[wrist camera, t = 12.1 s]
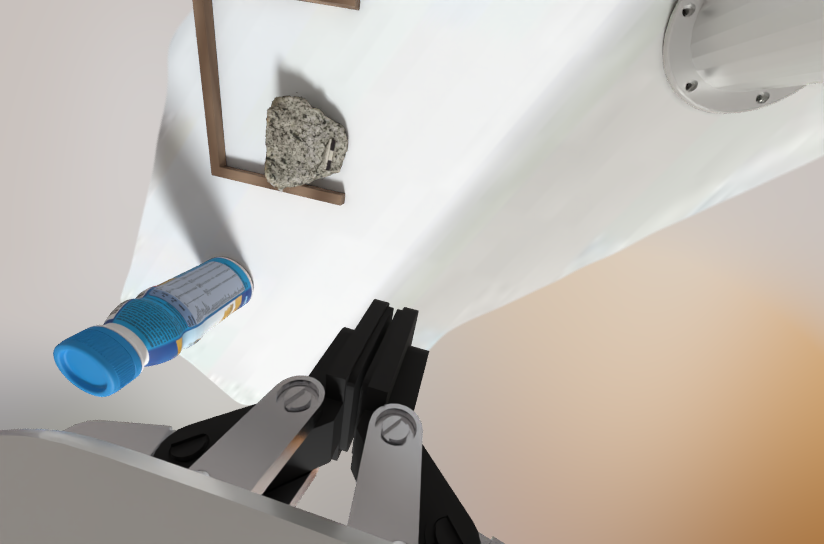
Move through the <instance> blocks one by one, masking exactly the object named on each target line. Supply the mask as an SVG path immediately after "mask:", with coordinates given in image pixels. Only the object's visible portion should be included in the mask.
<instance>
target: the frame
mask: <svg viewBox="0 0 824 544" xmlns="http://www.w3.org/2000/svg"><path fill="white" fill-rule="evenodd" d="M299 1H305V2H312V3H318V4H324V5H330V6H336V7H342V8H348V9H355V10H359V8H360V0H299ZM193 9H194V18H195V27H196V37H197V46H198V55H199V64H200V73H201V82H202V91H203V100H204V109H205V118H206V127H207V136H208V145H209V154H210V164H211V173H212V175H214V176H218V177H223V178H227V179H231V180H235V181H239V182H244V183H248V184H252V185H256V186H260V187H265V188H269V189H273V190H277V191H280V190H278V187H276V186H275V187H273V185H271V184H270V182H269V181H268V182H267V178H266V177H265V175H263V174H259V173H254V172H250V171H246V170H242V169H237V168H233V167H229V166H226V156H225V145H224V133H223V122H222V111H221V99H220V88H219V77H218V66H217V54H216V43H215V32H214V21H213V9H212V0H193ZM289 189H290V190H289ZM283 192H286V193H290V194H294V195H298V196H302V197H307V198H311V199H315V200H319V201H324V202H328V203H332V204H336V205H342V204H344V201H345V193H340V192H336V191H332V190H328V189H323V188H319V187H315V186H310V185H306V184H303V185H301V186H296V187H286V188H284V189H283Z"/></svg>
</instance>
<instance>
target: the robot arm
mask: <svg viewBox="0 0 824 544" xmlns="http://www.w3.org/2000/svg"><path fill="white" fill-rule="evenodd" d="M683 10H685V11H686V15H685V16H683V14H682V11H683ZM663 65H664V70H665V73H666V77H667V80H668V82H669V84H670V86H671V87H672V89H673V91H674V92H675V93H676V94H677V95H678V96H679V97H680V98H681V99H682V100H683V101H684V102H685V103H687V104H689V105H690V106H692V107H694V108H696V109H699V110H703V111H706V112H710V113H724V114H726V113H741V112H746V111H751V110H757V109H760V108H763V107H765V106H768V105H771V104H774V103H777V102H779V101H780V100H782V99H784V98H786V97H788V96H790V95H792V94H794V93H796V92H797V91H799V90H800V89H802V88H803V87H805V86H806V85H808V84H816V83H824V0H678V2H677V4H676V6H675V8H674V10H673V12H672V14H671V16H670V20H669V23H668V26H667V29H666V33H665V38H664V45H663ZM686 84H689V88H688V89H687V90H686V89H685V87H686ZM757 96H758V98H757ZM756 98H757V100H756ZM393 310H394V308H392V307H389V303H388V302H384V301H381V300H377V299H374V300H373V302H372V303H371V305H370V307H369V308H368V310H367V311H366V313H365V314H364V316H363V317H362V319H361V321H360V322H359V324H358V325H357V327H356V328H355V330H353V329H349V328H346V327H344V328H342V330H341V331H340V332H339V334H338V335H337V336H336V338H335V339H334V341H333V342H332V343H331V345H330V346H329V348H328V349H327V351H326V352H325V353H324V355H323V356H322V358H321V359H320V360H319V362H318V363H317V365H316V366H315V368H314V369H313V370H312V372H311V373H310V375H309V376H294V377H290V378H287V379H285V380H283V381H281V382H280V383H279V384H277V385H276V386H275V387H274V388H273V389H272V390H271V391H270V392H269V393H268V394H267V395H266V396H264V397H263V398H262V399H261V400H260V401H259V402H258V403H257V404H254V405H251V406H248V407H245V408H242V409H238V410H235V411H232V412H229V413H225V414H222V415H219V416H216V417H213V418H210V419H206V420H203V421H200V422H197V423H194V424H191V425H188V426H185V427H183V428H181V429H178V430H177V431H176V430H172V427H171V426H164V425H153V424H141V423H129V422H117V421H105V420H93V421H86V422H82V423H79V424H75V425H73V426H71V427H69V428H67V429H65V430H63V431H57V430H47V429H11V430H0V544H504V543H503V542H501V541H500V540H498V539H497V538H495V537H492V539H491V540H490V539H489V538H487V537H486V536H484V535H483V534H481V533H479V532H478V531H477V529H476V527H475V525H474V523H473V521H472V519H471V518H470V516H469V515H468V513H467V512H466V510H465V509H464V507H463V506H462V504H461V502H460V501H459V499H458V498H457V496H456V495H455V493H454V492H453V490H452V489H451V487H450V486H449V484H448V483H447V481H446V480H445V478H444V476H443V475H442V473H441V472H440V470H439V469H438V467H437V466H436V464H435V463H434V461H433V460H432V458H431V457H430V455H429V454H428V452H427V450H426V449H425V447H424V446H423V444H422V433H423V430H422V423H421V421H420V419H419V417H418V415H417V414H416V413H415V412H414V409H415V405H416V401H417V397H418V393H419V389H420V385H421V381H422V377H423V373H424V370H425V366H426V362H427V358H428V354H429V351H427V350H424V349H420V348H416V347H413V346H411V344H412V339H413V335H414V330H415V326H416V321H417V316H418V310H414V309H410V308H407V307H404V308H403V310H399V309H397V311H396V313H395V315H394V317H393V319H392V316H393ZM353 438H354V440H353ZM352 440H353V448H352V454H353V456H352V463H351V470H352V473H353V475H354V477H355V480H356V487H355V492H354V497H353V501H352V506H351V511H350V516H349V520H348V525H347V526H346V525H343V524H341V523H338V522H335V521H332V520H330V519H327V518H324V517H321V516H318V515H316V514H313V513H310V512H307V511H304V510H302V509H299V508H296V505H297V504H298V502H299V501H300V499H301V498H302V496H303V495H304V493H305V492H306V490H307V489H308V487H309V486H310V484H311V482H312V481H313V480H314V478H315V476H316V475H317V472H318V470H319V467H320V466H322V465H325V464H327V463H329V462H330V461H331V459H333V460H337V459H338V458H339V455H340V453H341V451H342V450H343V451H346V452H347V451H348V449H349V447H350V445H351V442H352Z"/></svg>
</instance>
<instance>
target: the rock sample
mask: <svg viewBox="0 0 824 544" xmlns="http://www.w3.org/2000/svg"><path fill="white" fill-rule="evenodd" d="M297 93H298V92H297ZM320 108H321V107H320ZM266 120H267V126H266V142H265V143H266V147H267V152H266V162H265V170H264V171H265V177H266V178H267V182H268V181H269V182H270V184H271V185H273V187H275V186H276V187H278V190H280V191H281V192H283V189H284V188H286V187H296V186H301V185H303V184H305V183H307V184H309V183H311V182H313V181H314V180H316V179H319V178H323V177H327V176H330V175H331V174H333V173H338V172H340V169H341V166H342V162H343V160H344V158H345V153H346V152H347V149H348V139H347V136H346V132H345V129H344V127H343V126H341V125H340V123H337V122H335V121H333V120H332V119H330V118H328V117H326V116H325V115H324V114H323V112H322V111H321V110H320V109H318V108H313V107H311V105H310V104H309V102H308V101H307V100H306V99H305V98H302V97H297V96H294V97H293V96H292V97H291V96H283V97H276V98H275V99H274V100H273V101H272V105H271V107H270V108H269V109H268V110H267V118H266ZM263 166H264V165H263ZM289 190H290V189H289Z"/></svg>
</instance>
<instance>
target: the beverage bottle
mask: <svg viewBox="0 0 824 544" xmlns="http://www.w3.org/2000/svg"><path fill="white" fill-rule="evenodd" d="M252 295H253V284H252V281H251V278H250V276H249V274H248V273H247V272H246V270H245V269H244V268H243V267H242V266H241V265H240V264H238V263H237V262H235V261H233V260H231V259H229V258H225V257H215V258H212V259H210V260H208V261H206V262H204V263H202V264H200V265H198V266H196V267H194V268H192V269H190V270H188V271H186V272H184V273H182V274H180V275H178V276H176V277H174V278H172V279H170V280H168V281H165V282H163V283H161V284H159V285H157V286H153V287H150V288H148V289H146V290H144V291H143V292H141V293H140V294H139V295H138V296H137V297H136V299H130V300H126V301H124V302H122V303H121V304H120V305H118V306H117V307H116V308H115V309H114V310H113V311H112V312H111V313H110V315H109V316H108V318H107V319H106V321H105V323H104V324H103V325H97V326H93V327H90V328H87V329H85V330H83V331H81V332H79V333H77V334H75V335H73V336H71V337H69V338H67V339H65V340H64V341H62V342H61V343H60V344H58V345H57V346H56V347H55V349H54V352H53V355H54V360H55V362H56V365H57V367H58V368H59V370H60V371H61V372H62V374H63V375H64V376H65V377H66V378H67V379H68V380H69V381H70V382H71V383H72V384H74V385H75V386H76V387H78V388H79V389H81V390H83V391H85V392H87V393H89V394H91V395H94V396H99V397H106V396H109V395H111V394H113V393H115V392H117V391H118V390H120V389H121V388H123V387H124V386H125V385H127V384H128V383H130V382H131V381H132V380H133V379H135V378H136V377H137V376H138V375H139V374H140V373H141V372H142V371H143V368H144V367H146V366H152V365H156V364H161V363H163V362H166V361H169V360H171V359H173V358H175V357H176V356H177V355H178V354H179V353H180V352H181V350H182V349H185V348H188V347H190V346H192V345H194V344H195V343H197V342H198V341H199V340H200V339H201V338H202V336H203V335H204V334H205V333H207V332H208V331H209V330H210V329H212V328H213V327H214V326H216V325H217V324H218V323H220V322H221V321H222V320H224V319H225V318H226V317H228V316H229V315H230V314H232V313H233V312H234V311H236V310H237V309H239V308H241V307H242V306H244V305H245V304H246V303H248V302H249V300H250V299H251V297H252Z"/></svg>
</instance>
